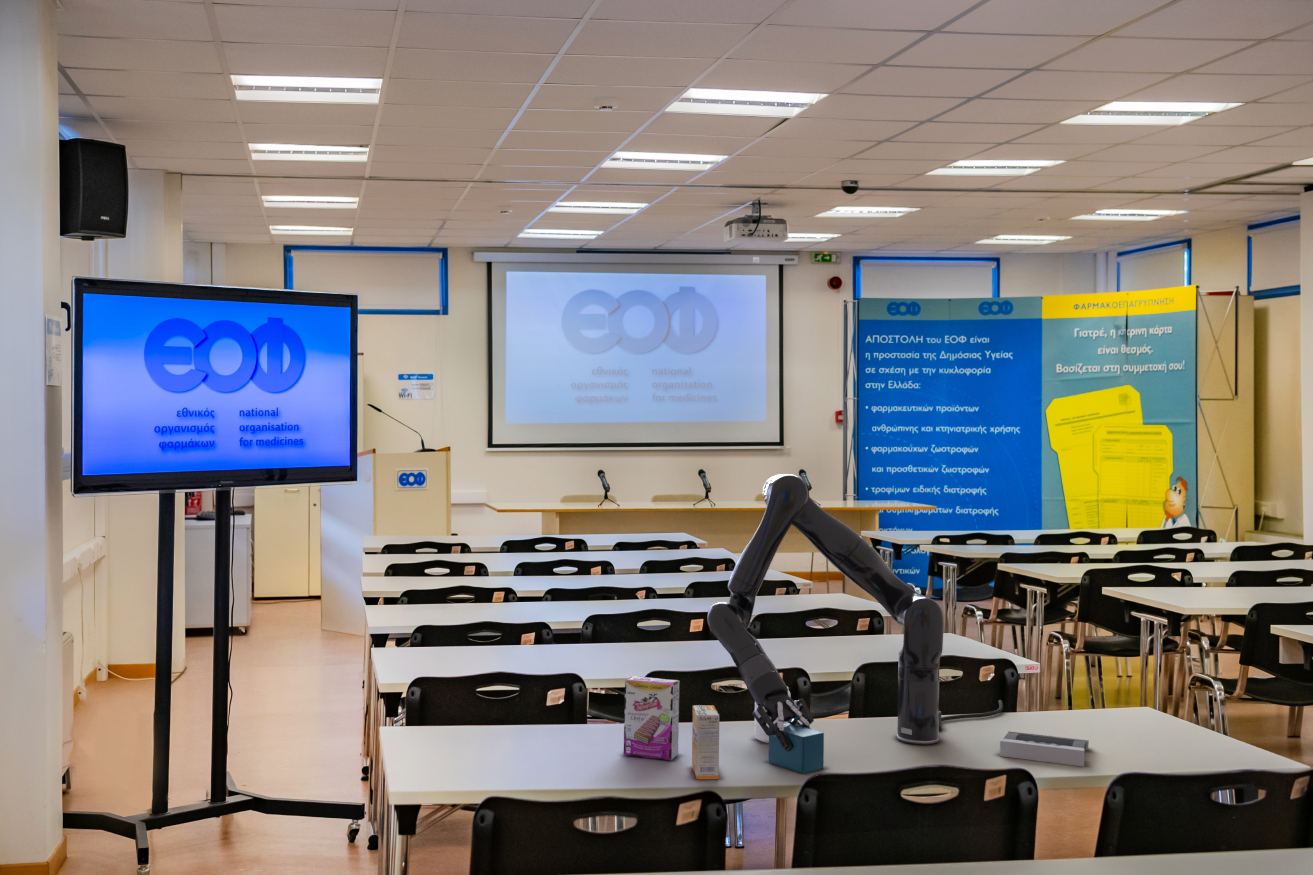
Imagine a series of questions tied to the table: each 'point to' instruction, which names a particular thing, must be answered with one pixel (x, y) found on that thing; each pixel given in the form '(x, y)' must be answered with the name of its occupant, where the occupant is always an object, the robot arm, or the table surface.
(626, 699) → the candy bar box
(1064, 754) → the grey slotted tray
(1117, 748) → the table surface
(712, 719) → the supplement box
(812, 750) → the teal rectangular box
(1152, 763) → the table surface
